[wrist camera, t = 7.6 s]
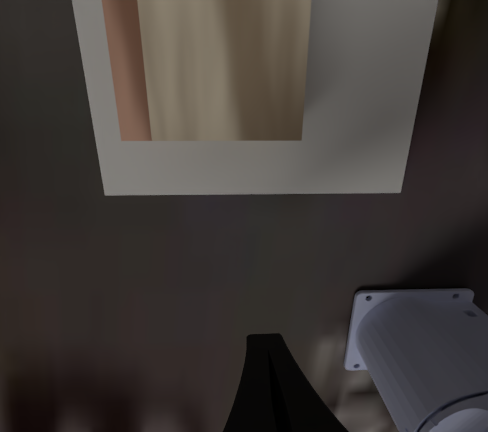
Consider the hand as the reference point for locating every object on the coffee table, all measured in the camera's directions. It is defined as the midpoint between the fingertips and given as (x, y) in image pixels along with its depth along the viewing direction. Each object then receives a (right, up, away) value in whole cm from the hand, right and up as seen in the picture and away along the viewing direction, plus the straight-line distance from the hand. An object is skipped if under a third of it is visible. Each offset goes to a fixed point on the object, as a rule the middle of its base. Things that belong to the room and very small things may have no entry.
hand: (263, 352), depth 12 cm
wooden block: (+2, +13, +4) cm, 14 cm away
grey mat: (0, +13, +6) cm, 14 cm away
